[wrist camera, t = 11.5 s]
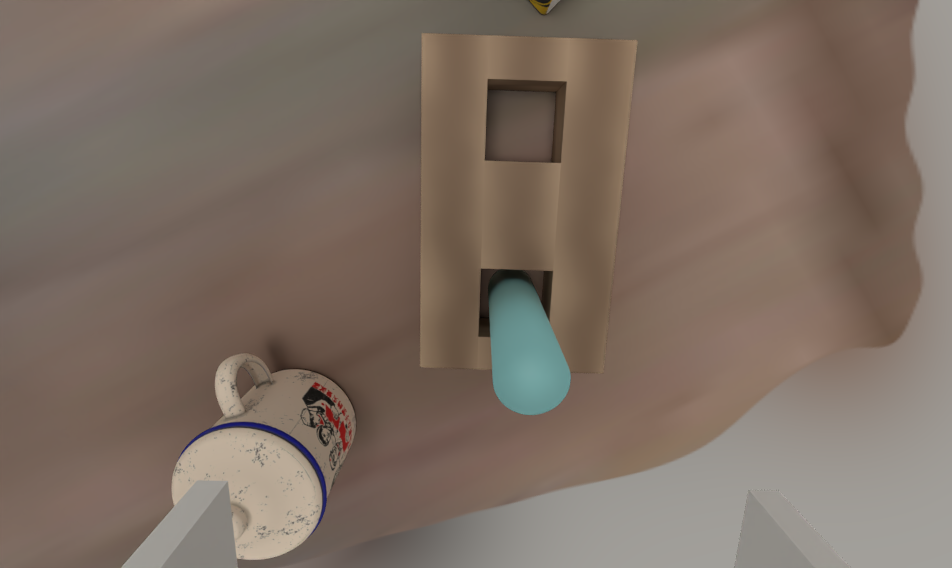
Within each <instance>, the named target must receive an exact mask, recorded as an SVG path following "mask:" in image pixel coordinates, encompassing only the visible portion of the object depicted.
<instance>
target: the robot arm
mask: <svg viewBox="0 0 952 568" xmlns="http://www.w3.org/2000/svg"><path fill="white" fill-rule="evenodd" d="M121 568H238V566H237V557H236V548H235V539H234V530H233V521H232V513H231V504H230V495H229V486H228V481H203V480H197V481H196V482H195V483H194V485H193V486H192V487H191V488H190V489H189V490H188V491H187V493H186V494H185V495H184V496H183V497H182V498H181V499H180V501H179V502H178V503H177V504H176V505H175V506H174V507H173V509H172V510H171V511H170V512H169V513H168V514H167V515H166V517H165V518H164V519H163V520H162V521H161V522H160V523H159V525H158V526H157V527H156V528H155V529H154V530H153V531H152V533H151V534H150V535H149V536H148V537H147V538H146V540H145V541H144V542H143V543H142V544H141V545H140V546H139V548H138V549H137V550H136V551H135V552H134V553H133V554H132V556H131V557H130V558H129V559H128V560H127V561H126V562H125V564H124V565H123V566H122V567H121ZM734 568H851V567H850V566H849V565H848V564H847V563H846V562H845V561H844V560H843V559H842V558H841V557H840V555H839V554H838V553H837V552H836V551H835V550H834V549H833V548H832V547H831V546H830V545H829V544H828V543H827V542H826V541H825V539H823V537H822V536H821V535H820V534H819V533H818V532H817V531H816V530H815V529H814V528H813V527H812V526H811V525H810V523H809V522H808V521H807V520H806V519H805V518H804V517H803V516H802V515H801V514H800V513H799V512H798V511H797V510H796V509H795V507H794V506H793V505H792V504H791V503H790V502H789V501H788V500H787V499H786V498H785V497H784V496H783V495H782V494H781V493H780V492H779V491H777V490H748V495H747V501H746V506H745V512H744V517H743V523H742V529H741V533H740V539H739V544H738V550H737V555H736V561H735V566H734Z"/></svg>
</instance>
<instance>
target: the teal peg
mask: <svg viewBox="0 0 952 568" xmlns="http://www.w3.org/2000/svg"><path fill="white" fill-rule="evenodd" d="M488 296H489V316H490V336H491V355H492V375H493V386H494V390H495V393H496V395H497V397H498V398H499V400H500V401H501V402H502V403H503V404H504V405H505V406H506V407H507V408H509V409H510V410H512V411H514V412H517V413H520V414H525V415H537V414H542V413H545V412H547V411H550V410H551V409H553V408H555V407H556V406H557V405H558V404H560V403H561V401H562V400H563V399H564V398H565V396H566V394H567V392H568V390H569V387H570V381H571V376H570V370H569V367H568V364H567V362H566V360H565V357H564V355H563V353H562V350H561V348H560V346H559V343H558V341H557V339H556V336H555V334H554V332H553V329H552V327H551V325H550V322H549V320H548V318H547V316H546V313H545V311H544V309H543V306H542V304H541V302H540V299H539V297H538V295H537V292H536V290H535V288H534V285H533V283H532V281H531V278H530V277H529V275H528V274H527V273H526V272H524V271H523V270H512V269H500V270H499V271H497V272H496V273H495V274H494V275H493V276H492V278H491V279H490V282H489V285H488Z"/></svg>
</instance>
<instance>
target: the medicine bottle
mask: <svg viewBox="0 0 952 568" xmlns="http://www.w3.org/2000/svg"><path fill="white" fill-rule="evenodd" d="M529 1H530V2H531V3H532V4H533V5H534V6H535V7H536V9H537V10H538V11H539V12H540V13H541V14H547V13H549V11H550V10H551V9H552V8H553V7H554V6H555V5H556V4H557V3H558V2H559V1H560V0H529Z"/></svg>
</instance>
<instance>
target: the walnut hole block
mask: <svg viewBox="0 0 952 568" xmlns="http://www.w3.org/2000/svg"><path fill="white" fill-rule="evenodd" d="M636 50H637V40H613V39H583V38H553V37H523V36H493V35H463V34H433V33H422V86H421V269H420V367H424V368H453V369H483V370H492V355H491V336H490V318H479V305H480V277H481V268H483V269H512V270H542V271H544V279H543V294H542V306H543V309H544V311H545V313H546V316H547V318H548V320H549V322H550V325H551V327H552V329H553V332H554V334H555V336H556V339H557V341H558V343H559V346H560V348H561V350H562V353H563V355H564V357H565V360H566V362H567V364H568V367H569V370H570V372H571V373H600V374H603V370H604V361H605V351H606V341H607V332H608V322H609V312H610V302H611V293H612V283H613V273H614V263H615V254H616V244H617V234H618V225H619V215H620V205H621V195H622V186H623V176H624V166H625V157H626V147H627V137H628V127H629V118H630V108H631V98H632V89H633V79H634V69H635V59H636ZM487 90H516V91H545V92H556V102H555V117H554V131H553V146H552V161H551V163H543V162H513V161H485V138H486V110H487Z"/></svg>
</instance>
